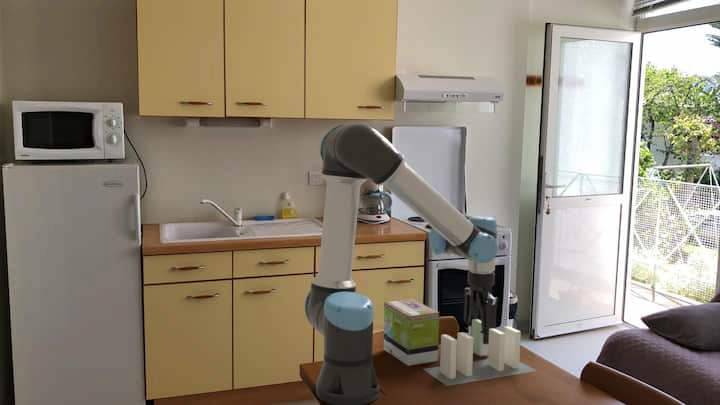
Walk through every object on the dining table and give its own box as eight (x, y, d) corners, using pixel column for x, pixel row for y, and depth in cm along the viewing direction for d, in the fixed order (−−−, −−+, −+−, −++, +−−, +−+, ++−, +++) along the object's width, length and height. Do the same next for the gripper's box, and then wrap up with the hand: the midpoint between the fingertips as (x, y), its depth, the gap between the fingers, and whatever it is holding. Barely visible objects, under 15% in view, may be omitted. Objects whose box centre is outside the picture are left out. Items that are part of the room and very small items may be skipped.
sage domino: (480, 358, 169) (482, 323, 168) (470, 352, 173) (472, 319, 172) (485, 357, 169) (486, 323, 168) (475, 352, 174) (476, 318, 173)
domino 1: (450, 378, 152) (451, 340, 151) (440, 372, 157) (441, 334, 156) (455, 378, 153) (456, 340, 152) (445, 371, 157) (446, 334, 156)
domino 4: (514, 368, 160) (515, 332, 159) (502, 362, 164) (504, 326, 163) (519, 367, 161) (520, 331, 160) (507, 361, 165) (509, 326, 164)
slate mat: (446, 388, 148) (446, 385, 148) (422, 371, 159) (422, 368, 158) (537, 373, 159) (537, 370, 159) (509, 357, 170) (509, 355, 170)
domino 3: (498, 371, 158) (500, 334, 157) (487, 364, 162) (489, 328, 162) (503, 370, 159) (505, 333, 158) (492, 363, 163) (494, 328, 162)
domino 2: (466, 376, 154) (468, 338, 153) (456, 369, 159) (457, 332, 158) (472, 375, 155) (473, 337, 154) (461, 368, 159) (462, 332, 158)
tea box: (382, 350, 174) (383, 301, 173) (412, 346, 178) (413, 297, 177) (407, 368, 160) (408, 314, 159) (439, 363, 165) (440, 310, 163)
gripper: (512, 276, 162) (508, 359, 165) (474, 264, 179) (471, 339, 181) (489, 278, 159) (485, 363, 162) (452, 265, 176) (450, 342, 178)
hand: (478, 350), depth 171 cm, fingers closed on sage domino, 5 cm apart
